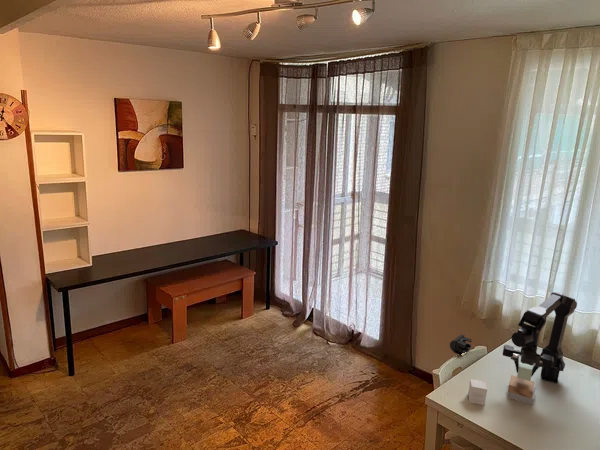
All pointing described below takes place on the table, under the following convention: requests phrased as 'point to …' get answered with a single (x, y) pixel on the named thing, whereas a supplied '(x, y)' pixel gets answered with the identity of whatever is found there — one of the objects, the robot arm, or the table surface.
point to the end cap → (460, 345)
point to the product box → (477, 392)
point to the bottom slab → (522, 397)
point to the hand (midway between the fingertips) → (524, 374)
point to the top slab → (521, 386)
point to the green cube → (525, 371)
